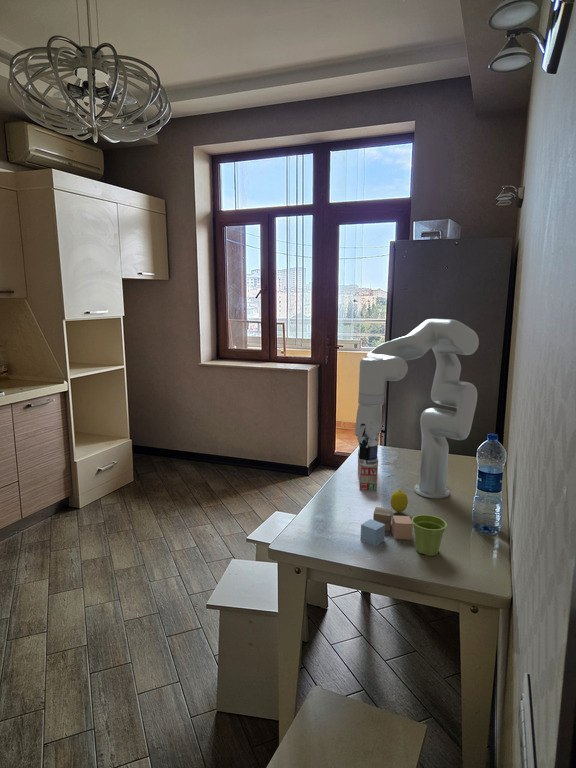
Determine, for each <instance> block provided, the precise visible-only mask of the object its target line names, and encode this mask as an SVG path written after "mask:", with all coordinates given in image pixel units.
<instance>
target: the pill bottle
mask: <svg viewBox="0 0 576 768" xmlns="http://www.w3.org/2000/svg"><path fill="white" fill-rule="evenodd" d="M364 437H367V435H364ZM363 439H364V438H363ZM375 439H376V435H375V436H373V437H371V438H370V443H369V447H370V459H369V460H368V461H367V460H362V459H359V463H360V464H361V465H363V466H368V467H372V466H375V465H376V464H377V457H378V453H377V449H379V441H378V442H377V441H376V440H375ZM364 440H365V441H366V442H367V439H364Z"/></svg>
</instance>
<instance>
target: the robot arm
mask: <svg viewBox="0 0 576 768" xmlns="http://www.w3.org/2000/svg"><path fill="white" fill-rule="evenodd" d="M479 345H480V341H479V336H478V334H477V332H476V331H475V330H473V329H472V328H470V327H469V326H468V325H466V324H465V323H463V322H461V321H459V320H456V319H454V318H453V319H451V318H428V319H425V320H424V321H423V322H421V323H420V324H418V325H417V326H416V327H415V328H414V329H413V330H411V331H410V332H408V333H407V334H406V335H404V336H401V337H400V336H399V337H398V338H394V339H392V340H389V341H386V342H384V343H381V344H379V345H377V346H376V347H374V348H373V349H372V350H370V351H369V352H368V353H367V354H366V355H365V356H364V357H363V358H361V359H360V361H359V374H358V375H359V376H358V379H359V380H358V400H357V401H358V403H357V404H358V405H357V412H356V418H355V419H356V420H355V426H354V427H355V429H354V430H355V431H354V435H355V436H356V437H357V439H356V440H357V442H358V449H359V459H362V460H367V461H368V460H369V459H370V447H369V443H370V438H371V437H373V436H375V435H376V439H375V440H376V441H377V442H378V443H379V441H380V440H379V437H380V433H381V431H382V426H383V405H384V402H385V401H384V400H385V386H386V385H385V383H386V382H388V381H390V382H397V381H400V380H402V379H404V378H405V377H406V375H407V374H408V370H409V368H408V366H409V365H408V363H407V361H410V360H411V361H412V360H416V359H420V358H422V357H424V355H425V354H427V352H429V351H430V350H431V351H432V352H433V354H434V358H435V362H436V367H435V372H434V376H433V381H432V387H431V390H430V391H431V392H430V398H431V401H432V402H433V403H435V404H438V405H441V406H445V407H451V408H455V409H456V411H454V410H449V409H444V408H439V407H428V408H426V409H424V410H423V411H422V412H421V414H420V419H419V420H420V421H419V423H420V424H419V425H420V432H421V446H420V447H421V448H420V458H419V459H420V462H419V475H418V476H419V477H418V483H416V484H414V485H413V486H414V487H413V491H414V492H415V493H416V495H419V496H421V497H423V498H424V497H425V498H429V499H445V498H447V497H449V496H450V490H449V488H448V487H446V486H447V473H448V464H449V463H448V462H449V461H448V460H449V450H450V449H449V443H448V441H447V439H451V440H457V441H464V440H466V439H467V438H468V437H469V435H470V432H471V429H472V425H473V420H474V416H475V412H476V408H477V403H478V389H477V388H476V386H475V385H474V384H473V383H471V382H468V381H462V380H460V377H461V371H462V365H461V361H460V360H459V357H458V355H462V356H463V355H464V356H470V355H473V354H474V353H475V352H476V351H477V350H478V348H479ZM364 435H367V437H364ZM363 438H364V439H367V442H366V441H365V440H364V439H363ZM378 449H379V448H378ZM378 449H377V454H378Z"/></svg>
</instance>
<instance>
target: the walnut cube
mask: <svg viewBox="0 0 576 768" xmlns="http://www.w3.org/2000/svg"><path fill="white" fill-rule="evenodd" d="M392 513H393V508H387V507H380V506H379V507H378V506H375V508H374V510H373V519H372V520H375V521H377V522H380V523H383V524H385V532H386V531H387V532H389V531H390V529H391V527H392Z"/></svg>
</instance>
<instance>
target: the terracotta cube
mask: <svg viewBox="0 0 576 768" xmlns="http://www.w3.org/2000/svg"><path fill="white" fill-rule="evenodd" d="M413 528H414V526H413V523H412V518H411V517H410V516H409V515H392V517H391V532H392V535H393V539H395V540H413V538H412V537H413Z"/></svg>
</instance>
